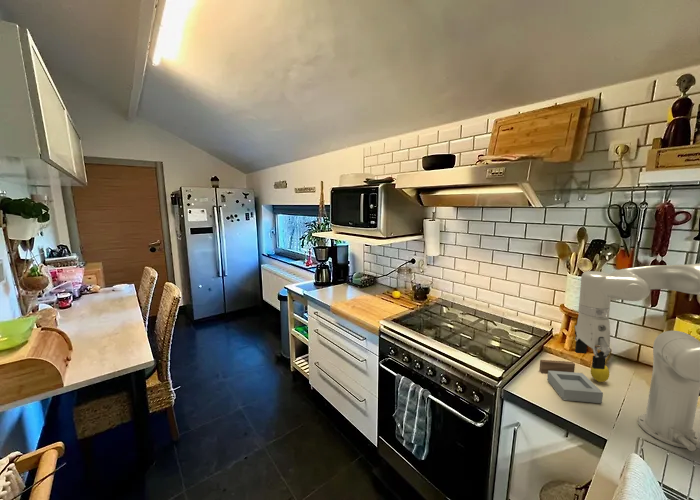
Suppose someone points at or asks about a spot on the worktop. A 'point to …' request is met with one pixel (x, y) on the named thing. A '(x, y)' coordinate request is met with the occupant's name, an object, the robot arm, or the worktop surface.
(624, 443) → the worktop surface
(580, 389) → the tray
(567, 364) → the wall
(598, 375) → the lemon
